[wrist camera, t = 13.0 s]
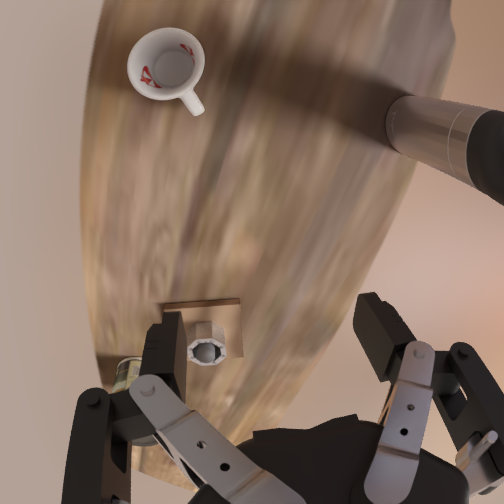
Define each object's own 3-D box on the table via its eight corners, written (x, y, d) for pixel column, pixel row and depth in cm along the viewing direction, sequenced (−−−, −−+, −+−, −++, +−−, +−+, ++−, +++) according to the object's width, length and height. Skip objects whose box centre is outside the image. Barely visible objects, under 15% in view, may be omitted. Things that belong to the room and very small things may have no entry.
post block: (239, 298, 50) (243, 325, 45) (242, 351, 56) (246, 378, 50) (164, 303, 49) (159, 330, 44) (177, 355, 55) (175, 382, 49)
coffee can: (128, 390, 59) (119, 446, 47) (109, 358, 54) (93, 417, 42) (174, 387, 59) (171, 446, 47) (158, 353, 54) (150, 417, 42)
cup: (229, 95, 36) (233, 96, 29) (175, 129, 37) (166, 137, 30) (186, 28, 31) (179, 13, 24) (131, 62, 32) (112, 56, 25)
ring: (223, 320, 50) (224, 337, 47) (226, 346, 53) (227, 363, 49) (185, 323, 50) (184, 340, 46) (191, 349, 52) (190, 366, 49)
